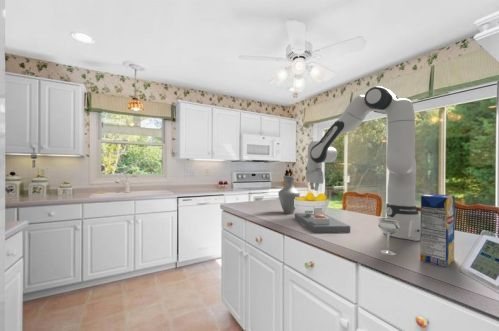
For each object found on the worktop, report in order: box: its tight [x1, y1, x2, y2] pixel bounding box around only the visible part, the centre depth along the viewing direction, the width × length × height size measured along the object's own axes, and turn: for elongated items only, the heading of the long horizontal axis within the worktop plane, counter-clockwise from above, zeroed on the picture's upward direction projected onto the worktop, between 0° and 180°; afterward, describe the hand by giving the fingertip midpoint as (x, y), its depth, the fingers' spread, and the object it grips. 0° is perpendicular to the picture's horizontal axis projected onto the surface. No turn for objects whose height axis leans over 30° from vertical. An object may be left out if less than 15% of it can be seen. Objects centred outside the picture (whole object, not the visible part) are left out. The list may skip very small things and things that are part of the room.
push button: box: [315, 214, 325, 218], centre depth 120 cm, size 5×5×2 cm
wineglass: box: [378, 217, 399, 256], centre depth 88 cm, size 7×7×12 cm
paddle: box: [313, 206, 323, 214], centre depth 141 cm, size 4×2×4 cm, turn 96°
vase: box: [277, 175, 301, 214], centre depth 163 cm, size 14×14×25 cm
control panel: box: [294, 212, 351, 234], centre depth 130 cm, size 18×32×6 cm, turn 6°
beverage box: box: [419, 193, 456, 268], centre depth 81 cm, size 7×11×22 cm, turn 129°
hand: (314, 190), depth 148 cm, fingers open, 5 cm apart
